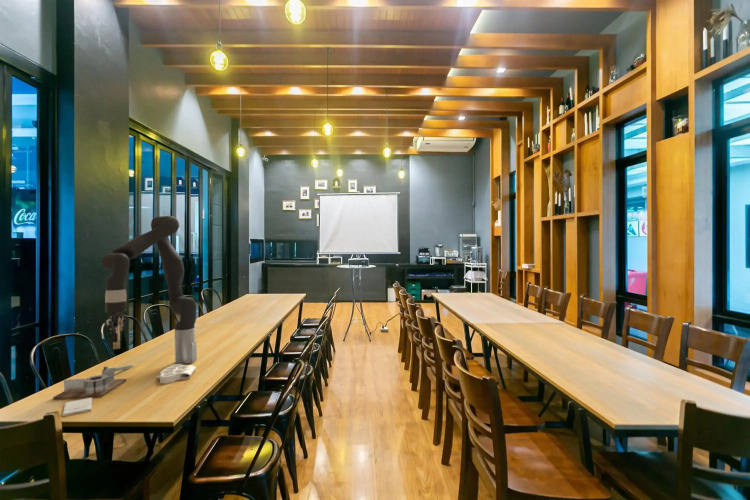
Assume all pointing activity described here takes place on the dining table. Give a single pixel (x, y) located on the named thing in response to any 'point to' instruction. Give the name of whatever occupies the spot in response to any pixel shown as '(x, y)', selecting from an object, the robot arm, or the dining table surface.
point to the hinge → (90, 383)
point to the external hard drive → (77, 406)
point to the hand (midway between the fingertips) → (116, 341)
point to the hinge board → (81, 394)
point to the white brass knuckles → (176, 373)
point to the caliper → (116, 368)
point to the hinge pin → (117, 344)
